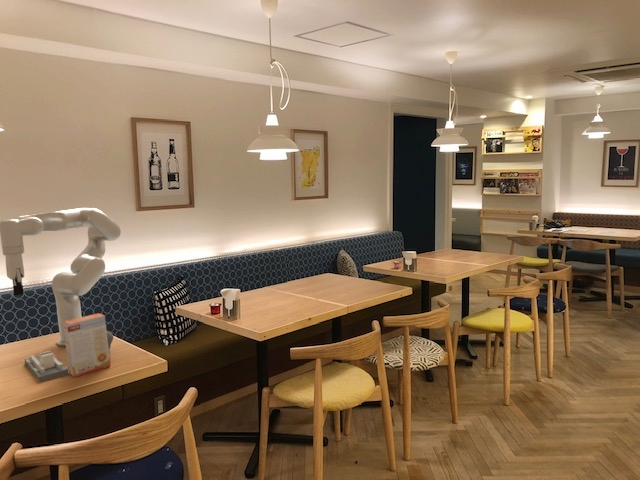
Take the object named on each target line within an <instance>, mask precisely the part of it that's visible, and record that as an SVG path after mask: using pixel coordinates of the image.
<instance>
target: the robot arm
mask: <svg viewBox="0 0 640 480" xmlns="http://www.w3.org/2000/svg"><path fill="white" fill-rule="evenodd" d="M86 227H87V228H88V229H87V238H88V241H87V242H88V243H87V245H86V247H85V248H84V249H82V251H81V252H80V253H79V254H78V255H77V256H76V258H74V259H73V261H72V262H71V264H70V271H71V272H66V271H64V272H59V273H56V275H54V276H53V278H52V281H51V289H52V292H53V294H54V295H53V296H54V297H55V305H56V313H57V322H58V323H57V324H58V330H59V338H58V339H57V340H56V344H57V345H58V346H61V347H66V344H65V336H64V328H63V321H67V320H72V319H76V318H81V317H83V316H82V309H81V300H80V296H84V295H86V294H87V293H88V292H90V291H91V289H92V288H93V286H95V285H96V283H97V282H98V281H99V280H100V279H101V277H102V276H103V275H104V273H105V271H106V263H105V261H104V260H103V259H102V258H103V257H104V256H105V253H106V241H109V242H113V241H116V240H118V239H119V238H120V236H121V227H120V226H119V225H118V223H117V222H115V220H113V219H112V218H111V217H109V216H108V215H107V214H106V213H104V212H103V211H102V210H100V209H98V208H94V207H91V208H90V207H79V208H72V209H66V210H65V209H64V210H58V211H50V212H43V213H34V214H27V215H21V216H20V215H19V216H16V217H14V218H10V219H4V220H0V241H1V242H0V243H1V248H2V255H3V256H5V257H4V258H5V267H6V268H5V271H6V277H7V278H8V279H10V280H11V281H12V288H13V289H12V290H13V295H14V296H22V295H24V293H25V292H24V285H23V279H24V278H25V268H24V262H23V261H24V260H23V256H22V255H23V254H25V247H24V246H25V245H24V239H23V237H24V236H37V235H39V234H41V233H42V232H61V231H62V232H63V231H67V230H72V229H78V228H86Z"/></svg>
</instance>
